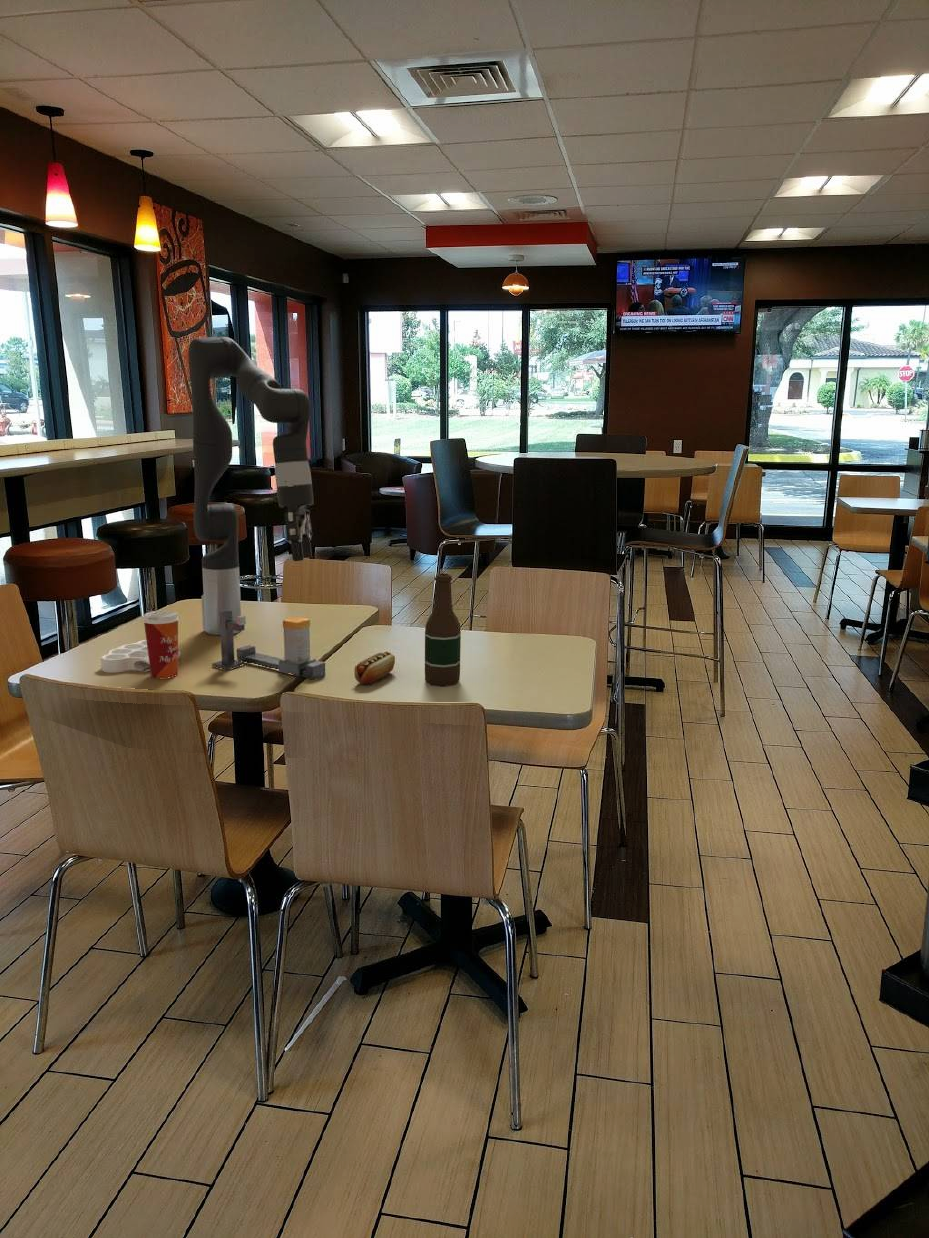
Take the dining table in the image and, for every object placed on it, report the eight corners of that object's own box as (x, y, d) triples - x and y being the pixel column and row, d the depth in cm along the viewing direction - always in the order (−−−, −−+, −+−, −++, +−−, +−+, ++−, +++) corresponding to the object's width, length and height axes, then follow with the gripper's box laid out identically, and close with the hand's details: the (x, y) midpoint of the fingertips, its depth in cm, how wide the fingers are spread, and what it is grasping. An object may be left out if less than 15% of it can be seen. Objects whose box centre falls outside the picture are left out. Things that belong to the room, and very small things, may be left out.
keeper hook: (212, 666, 210) (209, 611, 207) (229, 661, 214) (226, 607, 211) (236, 673, 206) (234, 616, 203) (253, 667, 210) (251, 612, 207)
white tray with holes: (142, 678, 203) (86, 671, 207) (188, 656, 219) (135, 650, 223) (141, 663, 202) (85, 657, 206) (187, 643, 219) (134, 637, 223)
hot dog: (400, 672, 208) (400, 651, 207) (371, 689, 197) (371, 666, 195) (380, 669, 210) (380, 648, 209) (351, 685, 199) (350, 663, 197)
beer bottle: (423, 676, 206) (424, 571, 200) (458, 676, 206) (460, 571, 200) (425, 687, 198) (426, 578, 192) (461, 686, 199) (463, 578, 193)
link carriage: (279, 671, 206) (277, 620, 203) (296, 665, 211) (295, 615, 208) (298, 676, 203) (297, 624, 200) (316, 670, 208) (315, 619, 205)
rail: (237, 661, 215) (236, 648, 214) (249, 657, 218) (249, 645, 217) (313, 679, 202) (312, 666, 201) (325, 675, 205) (325, 662, 204)
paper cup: (171, 681, 199) (167, 618, 196) (139, 678, 200) (135, 616, 197) (189, 671, 206) (185, 610, 203) (158, 668, 208) (154, 608, 205)
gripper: (284, 485, 204) (293, 558, 206) (268, 485, 190) (277, 563, 192) (317, 482, 204) (326, 555, 206) (304, 482, 189) (313, 560, 192)
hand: (302, 559), depth 199 cm, fingers open, 8 cm apart
